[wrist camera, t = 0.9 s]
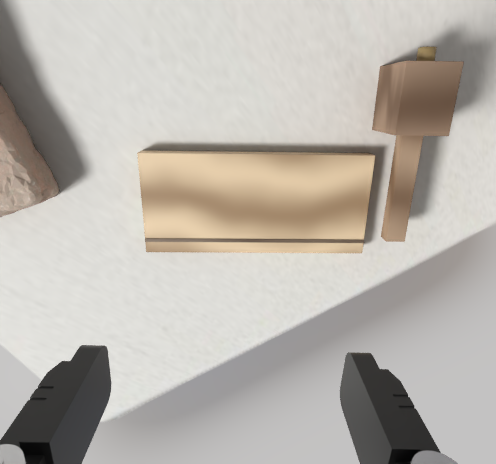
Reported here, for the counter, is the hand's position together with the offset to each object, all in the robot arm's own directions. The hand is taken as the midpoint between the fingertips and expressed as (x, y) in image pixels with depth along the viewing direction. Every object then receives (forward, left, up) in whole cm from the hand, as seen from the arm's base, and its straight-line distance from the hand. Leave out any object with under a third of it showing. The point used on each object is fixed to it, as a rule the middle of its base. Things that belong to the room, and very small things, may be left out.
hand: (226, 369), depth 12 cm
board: (0, +2, -22) cm, 22 cm away
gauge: (-5, +14, -22) cm, 27 cm away
